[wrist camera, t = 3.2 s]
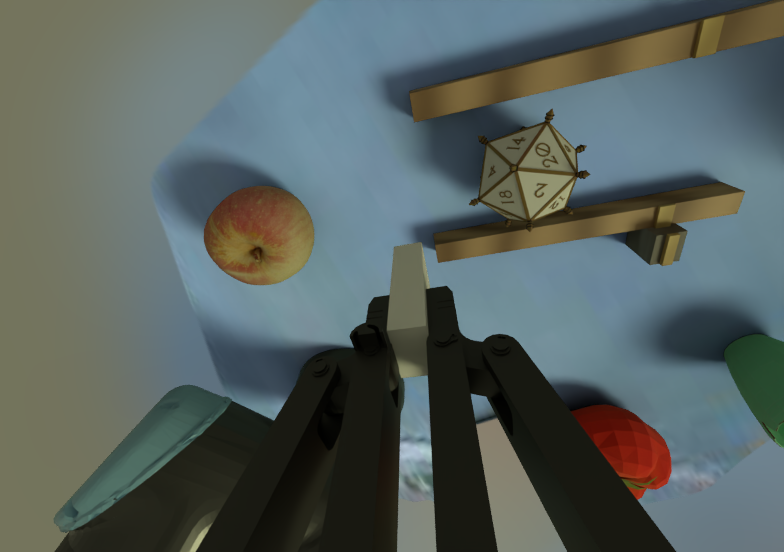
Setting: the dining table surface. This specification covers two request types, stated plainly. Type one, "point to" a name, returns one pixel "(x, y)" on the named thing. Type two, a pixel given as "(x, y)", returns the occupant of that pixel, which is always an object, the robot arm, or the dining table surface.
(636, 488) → the tomato
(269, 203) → the apple
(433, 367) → the robot arm
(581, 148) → the game die
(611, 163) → the dining table surface
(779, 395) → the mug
